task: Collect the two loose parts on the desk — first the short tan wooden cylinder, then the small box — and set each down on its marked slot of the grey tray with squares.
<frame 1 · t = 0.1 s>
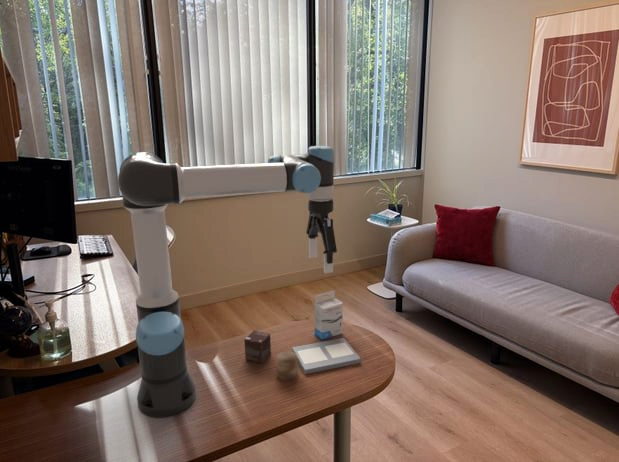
hand: (320, 264, 145), 28 cm above the table, fingers open, 13 cm apart
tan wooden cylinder: (287, 374, 136), on the table
grey tray with squares: (325, 357, 145), on the table
box: (258, 357, 145), on the table
ink box: (328, 334, 159), on the table
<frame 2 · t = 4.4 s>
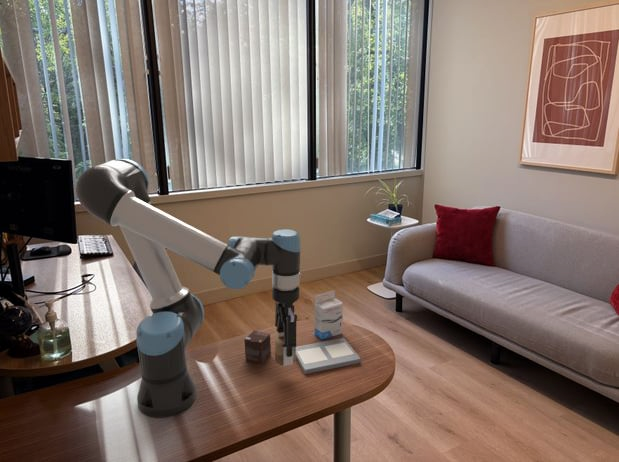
hand: (285, 358, 135), 6 cm above the table, fingers closed on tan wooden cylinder, 6 cm apart
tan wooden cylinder: (285, 359, 135), point 5 cm above the table, touching gripper
everything else where it was.
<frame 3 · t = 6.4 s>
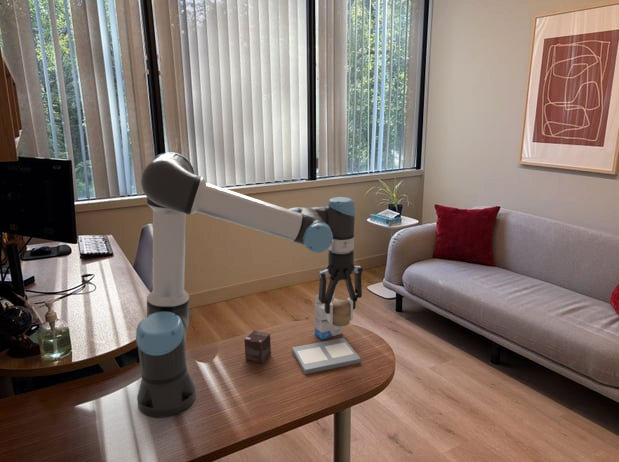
hand: (339, 320, 143), 12 cm above the table, fingers closed on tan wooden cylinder, 6 cm apart
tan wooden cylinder: (340, 321, 143), point 12 cm above the table, touching gripper
everything else where it was.
when the fingers open (2 cm above the table, at t = 8.3 s): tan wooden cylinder stays where it is, resting on grey tray with squares.
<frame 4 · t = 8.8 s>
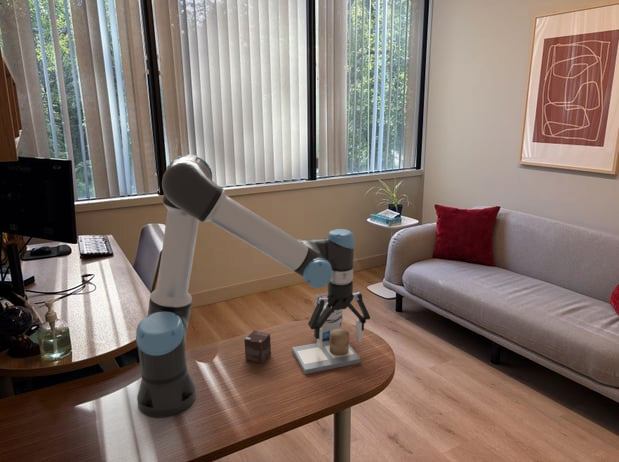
hand: (339, 343, 145), 4 cm above the table, fingers open, 12 cm apart
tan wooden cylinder: (339, 350, 146), point 2 cm above the table, touching grey tray with squares
everything else where it was.
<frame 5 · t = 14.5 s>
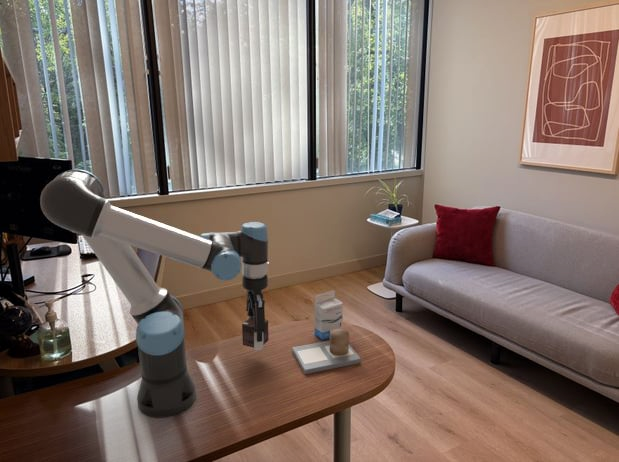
hand: (255, 342, 143), 5 cm above the table, fingers closed on box, 8 cm apart
box: (255, 343, 144), point 5 cm above the table, touching gripper
everything else where it was.
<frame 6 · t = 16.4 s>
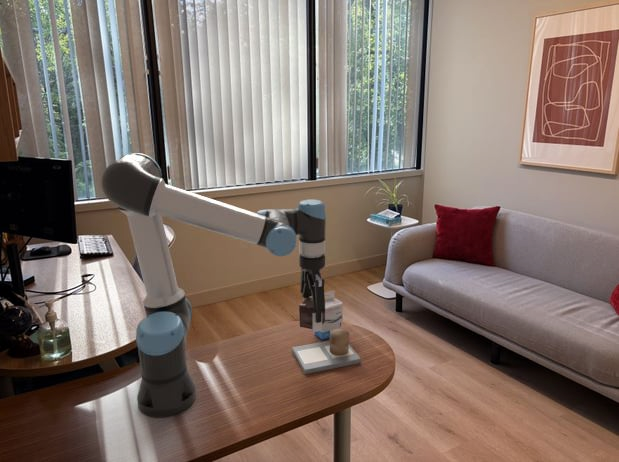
hand: (312, 323, 140), 12 cm above the table, fingers closed on box, 8 cm apart
box: (312, 325, 140), point 12 cm above the table, touching gripper
everything else where it was.
when the fingers open (3 cm above the table, at t = 18.5 s): box stays where it is, resting on grey tray with squares.
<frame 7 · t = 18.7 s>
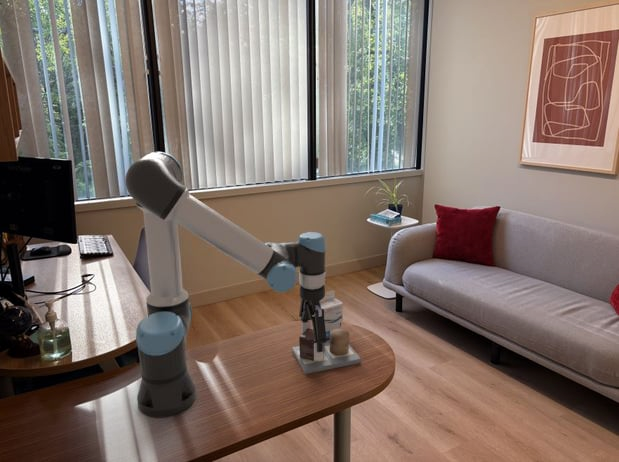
hand: (312, 349, 143), 3 cm above the table, fingers open, 11 cm apart
box: (312, 355, 143), point 1 cm above the table, touching grey tray with squares
everything else where it was.
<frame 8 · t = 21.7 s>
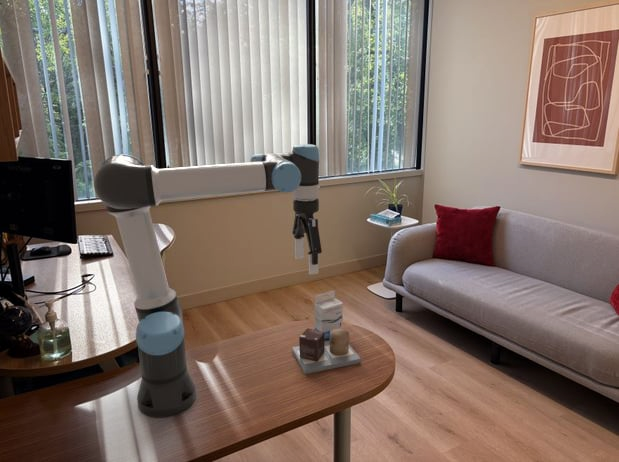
hand: (306, 265, 142), 29 cm above the table, fingers open, 13 cm apart
nothing on the table moved.
at the end: box inside the target area on the grey tray with squares (4.5 cm from its centre), point 1.4 cm above the grey tray with squares's base; box touching grey tray with squares; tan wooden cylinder inside the target area on the grey tray with squares (4.5 cm from its centre), point 1.6 cm above the grey tray with squares's base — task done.
